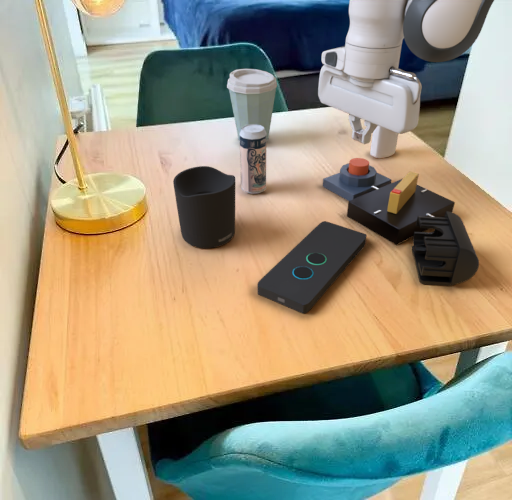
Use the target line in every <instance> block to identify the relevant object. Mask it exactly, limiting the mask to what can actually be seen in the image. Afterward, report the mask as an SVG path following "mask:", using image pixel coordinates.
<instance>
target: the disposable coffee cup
mask: <svg viewBox="0 0 512 500" xmlns="http://www.w3.org/2000/svg"><path fill="white" fill-rule="evenodd" d="M277 83H278V82H277V78H276V77H275V76H274V74H272V73H270V72H268V71H266V70H261V69H256V68H237V69H234V70H233V71H230V73H229V78H228V79H227V84H226V88H227V89H228V92H229V97H230V103H231V108H232V112H233V118H234V123H235V128H236V134H237V139H238V141H239V142H240V135H239V134H240V132H241V130H242V127H243V126H245V125H250V124H257V125H261V126H263V127H264V129H265V131H266V133H267V134H266V144H267V143H268V140H269V137H270V131H271V124H272V119H273V111H274V104H275V103H274V102H275V99H276V93H277V92H276V91H277V88H278V84H277Z"/></svg>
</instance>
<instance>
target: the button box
mask: <svg viewBox="0 0 512 500" xmlns="http://www.w3.org/2000/svg"><path fill="white" fill-rule="evenodd" d="M348 170H349V162H348V163H346V164H343V165H341V167H340V169H339V172H337V173H334V174H332V175H329V176H327V177H324V178H323V179H322V188H324V189H326V190H327V191H330V192H331V193H333V194H335V195H337V196H339V197H341V198H342V199H344V200H345V201H350V200H353V199H355V198H357V197H360V196H362V195H365V194H367V193H369V192H372V191H374V190H377V189H375V188H373V187H372V186H375V187H377V188H381V187H384V186H386V185H388V184H391V183H392V178H391V177H387V176H385V175H383V174H381V173H379V172H378V171H377V170H376V168H375V167H374V166H373V165H370V164H369V169H368V174H366V175H360V176H358V175H352V174H350V173H349V172H348Z"/></svg>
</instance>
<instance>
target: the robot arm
mask: <svg viewBox="0 0 512 500" xmlns="http://www.w3.org/2000/svg"><path fill="white" fill-rule="evenodd" d="M494 2H495V0H349V2H348V3H349V4H348V17H349V27H348V31H347V34H346V37H345V41H344V42H345V44H344V45H342V46H339V47H336V48H331V49H327V50H324V51H322V53H321V63H322V66H321V69H320V72H319V78H318V88H317V96H318V99H319V101H320V103H321V104H323V105H326V106H329V107H330V108H333V109H336V110H338V111H341V112H343V113H346V114H348V122H349V125H350V128H351V130H352V132H351V139H352V140H353V141H356V142H358V143H360V144H363V145H367V144H369V143H370V142H371V141H372V134H373V131H374V130H375V129H376V127H377V126H381V127H383V128H386V129H388V130H391V131H393V132H396V133H398V135H402V134H407V133H409V132H412V131H413V130H415V129H416V127H418V125H419V119H420V109H421V108H420V107H421V93H422V88H423V86H422V83H421V81H420V79H419V78H418V77H417V74H416V73H414V72H411V71H405V70H403V69H401V68H399V65H400V58H401V52H402V45H403V41H404V42H405V44H406V46H407V48H408V49H409V50H410V52H411V53H412V54H413V55H414V56H416V57H417V58H419V59H421V60H423V61H425V62H429V63H443V62H449V61H452V60H455V59H456V58H458V57H460V56H462V55H463V54H464V53H466V52H468V50H469V49H470V48H471V47H472V46H473V45H474V44H475V43H476V41H477V39H478V38H479V36H480V34H481V32H482V29H483V27H484V25H485V21H486V19H487V16H488V14H489V11H490V9H491V7H492V5H493V3H494ZM361 120H363V121H364V122H363V125H364V127H365V128H364V129H363V127H362V122H361Z"/></svg>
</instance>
